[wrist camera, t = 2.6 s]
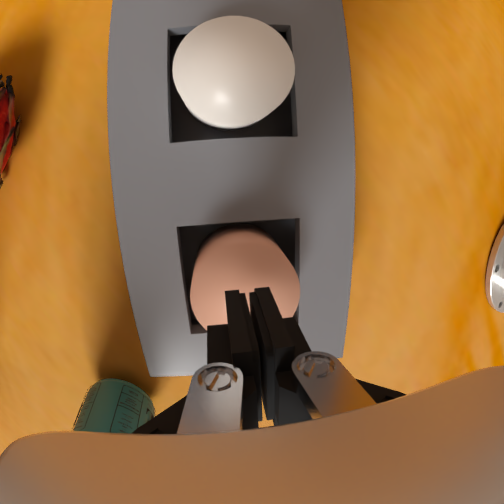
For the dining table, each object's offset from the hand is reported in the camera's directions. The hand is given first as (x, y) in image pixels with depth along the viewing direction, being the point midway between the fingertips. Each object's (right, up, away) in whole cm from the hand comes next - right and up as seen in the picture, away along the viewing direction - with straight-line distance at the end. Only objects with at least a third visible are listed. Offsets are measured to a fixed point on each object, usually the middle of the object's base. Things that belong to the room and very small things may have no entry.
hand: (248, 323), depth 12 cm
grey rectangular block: (-1, +8, +8) cm, 11 cm away
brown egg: (-1, +2, +6) cm, 6 cm away
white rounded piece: (-1, +11, +3) cm, 12 cm away
